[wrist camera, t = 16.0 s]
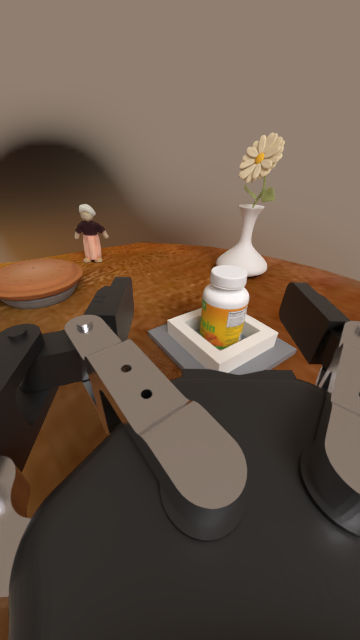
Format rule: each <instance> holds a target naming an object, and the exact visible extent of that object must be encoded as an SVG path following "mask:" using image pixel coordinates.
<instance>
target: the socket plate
mask: <svg viewBox="0 0 360 640" xmlns="http://www.w3.org/2000/svg"><path fill="white" fill-rule="evenodd" d="M201 311H202V308H200V309H197V310H194V311H191V312H188V313H186V314H183V315H180V316H177V317H175V318H172V319H169V320H167V321H168V324H165V325H162V326H160V327H157V328H154V329H152V330H149V331H148V336H149V337H150V338H151V339H152V340H153V341H154V342H155V343H156V344H157V345H158V346H159V347H160V348H161V350H162V351H163V352H164V353H165V354H166V355H167V356H168V357H169V358H170V359H171V360H172V361H173V362H174V363H175V364H176V365H177V366H178V367H179V368H180V369H181V370H182V369H212V370H216V371H221V372H226V373H231V374H236V375H243V374H248V373H253V372H257V371H262V370H271V369H272V368H274V367H275V366H277V365H278V364H280V363H282V362H283V361H285V360H286V359H288V358H289V357H291V356H292V355H294V354H295V352H296V350H297V349H296V348H294V347H292V346H291V345H289V344H287V343H286V342H284V341H282V340H281V339H279V338H277V335H278V332H276V331H274V330H273V329H271V328H269V327H267V326H266V325H264V324H262V323H261V322H259V321H257V320H255V319H254V318H252V317H250V316H248V315H247V314H246V316H245V321H244V326H243V330H242V335H241V340H240V341H239V342H237V343H235V344H233V345H231V346H229V347H227V348H225V349H223V350H221V351H219V350H218V349H217V348H216V347H214V346H213V345H212V344H211V343H209V342H208V341H207V340H205V339H204V338H203V337H202V336H200V335H199V332H200V322H201Z"/></svg>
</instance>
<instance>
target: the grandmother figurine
mask: <svg viewBox="0 0 360 640" xmlns="http://www.w3.org/2000/svg"><path fill="white" fill-rule="evenodd" d="M79 212H80V214H81V217H82V219H83V220H84V221H82V222H80V223H79V225H78V226H77V228H76V230H75V231H76V232H75V239H79V236H80V233H81V232H83V243H84V251H85V257H86V258H85V259H84V260H83V262H91V261H92V260H94V262H102V258H101V247H100V242H99V237H98V234H97V232H99V233H101V234H102V235H104V238H108V235H107V233H106V231H105V228H103V227H102V226H101V225H99V224H98V223H96V222H94V221H92V219H93V217H94V215H95V212H94V210H93V209H92V208H91V207H90V206H89V205H87V204H83V205H80V206H79Z"/></svg>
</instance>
